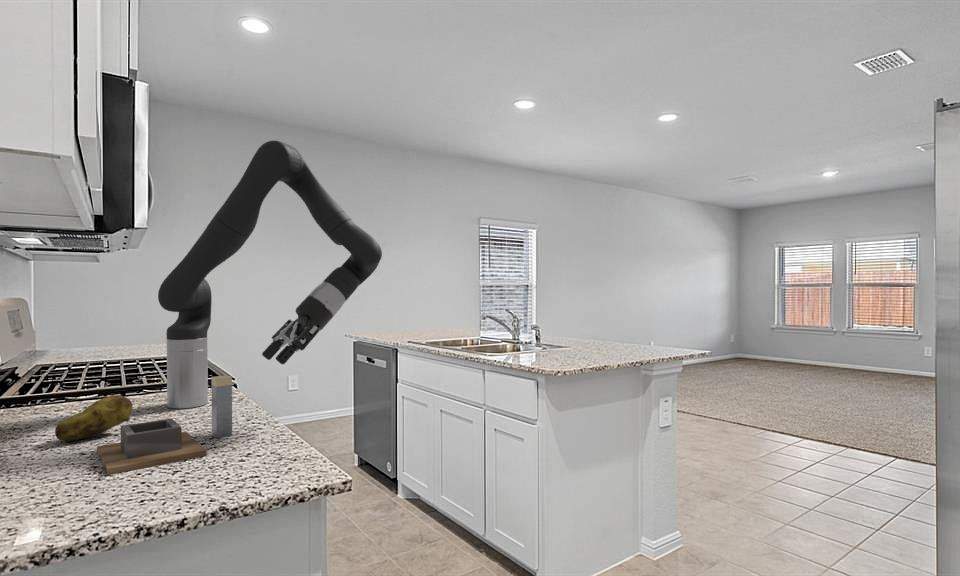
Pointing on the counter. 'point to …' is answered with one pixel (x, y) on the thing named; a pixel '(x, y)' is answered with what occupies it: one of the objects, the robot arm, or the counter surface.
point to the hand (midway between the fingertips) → (271, 359)
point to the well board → (149, 446)
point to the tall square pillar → (221, 406)
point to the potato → (95, 419)
